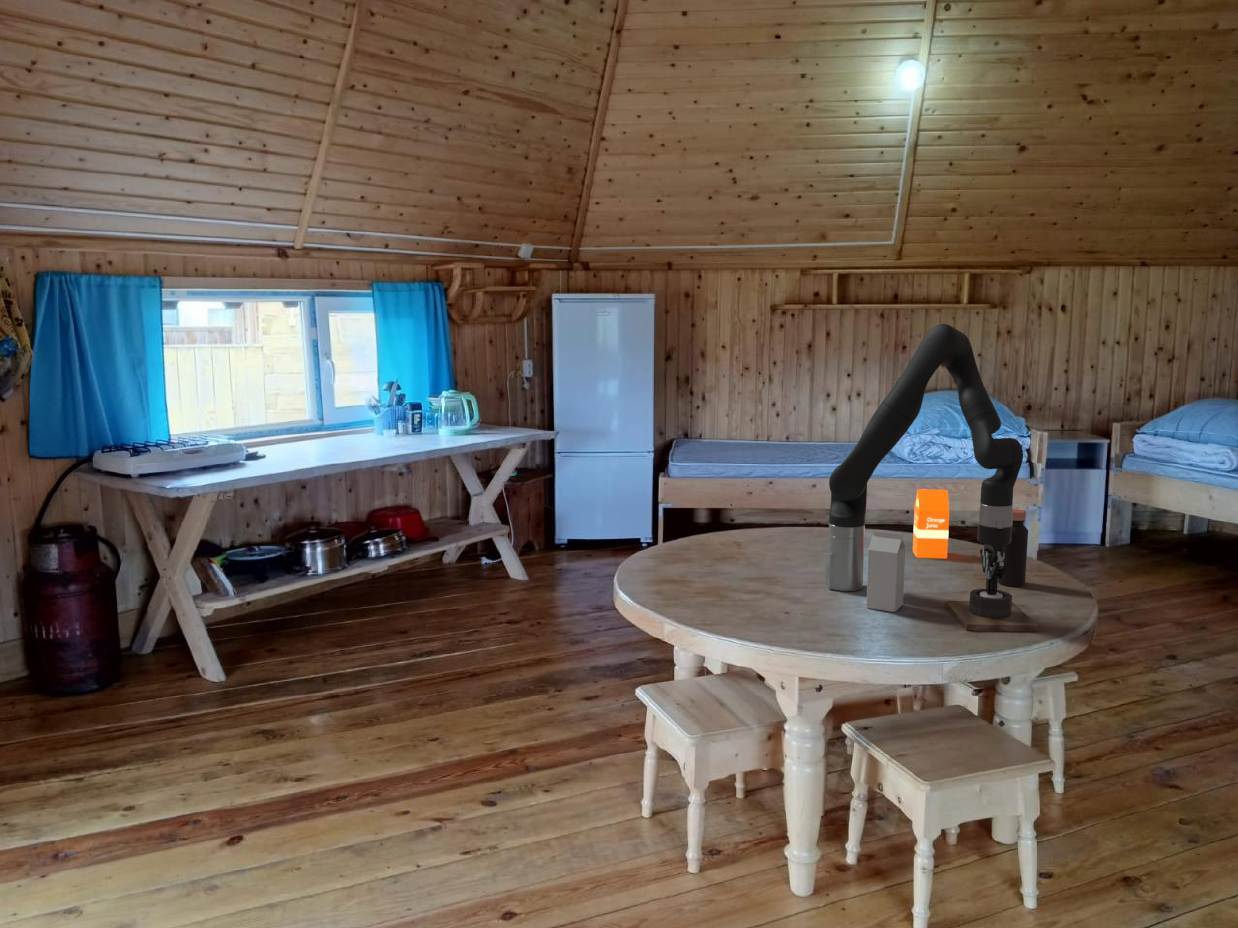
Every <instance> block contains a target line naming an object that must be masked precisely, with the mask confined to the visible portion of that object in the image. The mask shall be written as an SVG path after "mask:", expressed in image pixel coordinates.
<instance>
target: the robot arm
mask: <svg viewBox="0 0 1238 928" xmlns="http://www.w3.org/2000/svg"><path fill="white" fill-rule="evenodd" d="M976 362H977V361H976V359H975V354H974V351H973V347H972V344H971V341H970V339H969V337H968V336H967V335H966V334H965V333H964V332H962V331H960V330H958V329H957V328H955V327H954V326H951V325H950V324H947V323H940V324H937V325H935V326H933V327H931V328H930V330H928V331H927V333H926V334H925V335H924V336H923V338H922V340H921V341H920V343H919V344H918V347H917V349H916V350H915V352H914V354H913V355H912V357H911V359H910V360H909V362H908V364H907V366H906V367H905V369H904V370H903V372H902V373H901V375H900V376H899V378H897V380H896V382H895V383H894V385H893V386H892V389H891V390H890V391H889V392H888V394H887V395H886V396H885V397H884V399H883V400H882V402H881V403H880V405H879V406H878V407H877V409H876V410H875V411H874V413H873V414H872V416H871V417H870V420H869V421H868V423H867V425H866V427H865V428H864V430H863V432H862V434H861V436H860V438H859V440H858V442H857V443H856V445H855V446H854V448H853V449H852V450H851V452H850V453H849V454H848V455H847V457H846V458H845V459H844V460H843V461H842V462H841V464H839V465H838V466H836V467H835V468H834V470H833V471H832V473H831V474H830V476H829V480H828V483H829V485H828V486H829V487H828V488H829V490H830V492H831V493H830V506H829V507H830V509H829V514H828V543H827V544H828V547H827V549H826V566H825V569H826V570H825V585H826V586H827V588H828V590H836V591H842V592H855V591H860V590H862V589H863V587H864V585H863V583H864V561H865V560H864V556H865V554H864V553H865V533H866V532H865V528H866V526H865V525H866V514H867V496H868V494H867V493H868V482H869V480H870V479H871V477H872V475H873V474H874V472H875V471H876V469H877V467H878V466H879V464H880V463H881V461H882V460H884V458H885V457H886V456H887V455H888V454H889V453H890V452H891V451H892V449H893V448H894V447H895V446H896V445H897V444H899V443H898V442H899V441H900V440H901V439H902V438H903V437H904V436H905V434H906V433H907V432H908V430H909V429H910V428H911V426H912V425H913V424H914V422H915V421H916V419H917V418H918V416H919V414H920V412H921V408H922V405H923V402H924V401H923V400H924V397H925V392H926V389H927V386H928V383H929V382H930V379H931V378H932V376H933V375H934V374H935V373H936V371H937V370H938V369H939V368H940V366H943V367H944V368H945V369H946V370H947V372H948V373H949V374H950V376H951V377H952V379H953V381H954V383H955V385H956V389H957V393H958V394H957V395H958V403H959V407H960V410H961V413H962V415H963V417H964V419H965V422H966V424H967V425H968V428H969V431H970V434H971V442H972V449H973V455H974V459H975V460H976V462H977V464H978V465H979V466H980V467H982V468H983V469H986V470H995V472H994V474H993V475H992V476H990V477H987V478H985V479H983V481H982V482H981V486H980V487H981V488H980V500H979V502H980V503H979V509H978V517H977V518H978V519H977V520H978V522H977V533H976V534H977V536H976V537H977V538H976V540H977V541H978V542H979V543H980V544H981V543H982V544H983V548H982V549H980V550H979V553H980V560H981V561H980V562H981V567H982V573H984V577H985V589H986V593H987V594H989V595H996V594H997V590H998V585H999V582H998V580H999V579H1002V577H1003V574H1004V572H1005V570H1006V567H1007V562H1003V559H1004V556H1005V553H1004V551H1003V546H1004V545H1008V544H1010V543H1011V540H1012V523H1013V509H1014V508H1013V504H1014V503H1013V501H1014V500H1013V498H1014V487H1015V484H1016V482H1017V479H1018V476H1019V474H1020V470H1021V467H1022V464H1023V462H1024V461H1023V460H1024V450H1023V447H1022V444H1021V443H1020V441H1019V440H1017V438H1014V437H1003V438H1002V437H1001V438H994V437H993V434H995V433H997V432H998V431H999V430H1000V429H1001V426H1002V420H1001V419H1000V416H999V414H998V412H997V410H996V408H995V405H994V404H993V401H992V400H991V398H990V395H989V393H988V391H987V390H986V388H985V387H986V386H985V385H984V383H983V380H982V377H981V374H980V371H979V368H978V366H977V363H976Z"/></svg>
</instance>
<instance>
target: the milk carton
mask: <svg viewBox="0 0 1238 928" xmlns="http://www.w3.org/2000/svg"><path fill="white" fill-rule="evenodd" d="M872 533H873V534H872V538H871V540H870V544H869V546H868V549H867V551H868V554H867V556H868V557H867V580H866V582H867V583H866V608H867V609H870V610H871V609H872V610H877V611H885V612H890V613H895V612H897V611H898V610H899V609H900V608H901V607H902V606H903V605H904V592H905V591H904V590H905V589H904V588H905V585H904V583H905V568H906V567H905V565H906V564H905V563H906V562H905V561H906V545H905V542H904V539H903V533H897V532H896V533H895V532H889V531H879V530H873V531H872Z"/></svg>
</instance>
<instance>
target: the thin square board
mask: <svg viewBox="0 0 1238 928" xmlns="http://www.w3.org/2000/svg"><path fill="white" fill-rule="evenodd" d="M984 591H986V588H976V589H972V590H971V591H970V592H969V600H945V601H944V602H945V604H944V606H945V608H946V609H947V610H948V611H949V612H950V614H951V615H952V616H953V617H954V618H955V619H956V620H957V621H958V623H959V624H960V625H961V626H962V628H964V630H965V631H967V632H969V631H977V632H1035V633H1038V632H1039V624H1038V623H1037V622H1036V621H1034V620H1033V619H1032V618H1031V617H1030V616H1029V615H1028V614H1027V613H1025V612H1024V611H1023V610H1022V609H1021V608H1020V607H1019V606H1017V605H1016V604H1015V603H1014V602H1013V595H1012V594H1011V593H1010V592H1007V591H1003V590H1001V589H997V592H998V593H1001V594H1002V595H1003V597H1002V598H986V597H982V596H980V593H981V592H984Z"/></svg>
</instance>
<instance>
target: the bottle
mask: <svg viewBox="0 0 1238 928" xmlns="http://www.w3.org/2000/svg"><path fill="white" fill-rule="evenodd" d="M1012 509H1013V523H1012V540H1011V543H1010V544H1008V545H1004V546H1003V551H1004V553H1005V556H1004V559H1003V562H1007V567H1006V570H1005V572H1004V574H1003V577H1002V579H999V580H998V584H1000V585H1002V586H1006V587H1012V588H1013V587H1015V588H1020V587H1023V586H1025V584H1026V573H1027V559H1028V544H1029V529H1028V528H1027V526H1025V525H1024V523H1025V522H1026V513H1027V512H1026V510H1023V509H1018V508H1012Z"/></svg>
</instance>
